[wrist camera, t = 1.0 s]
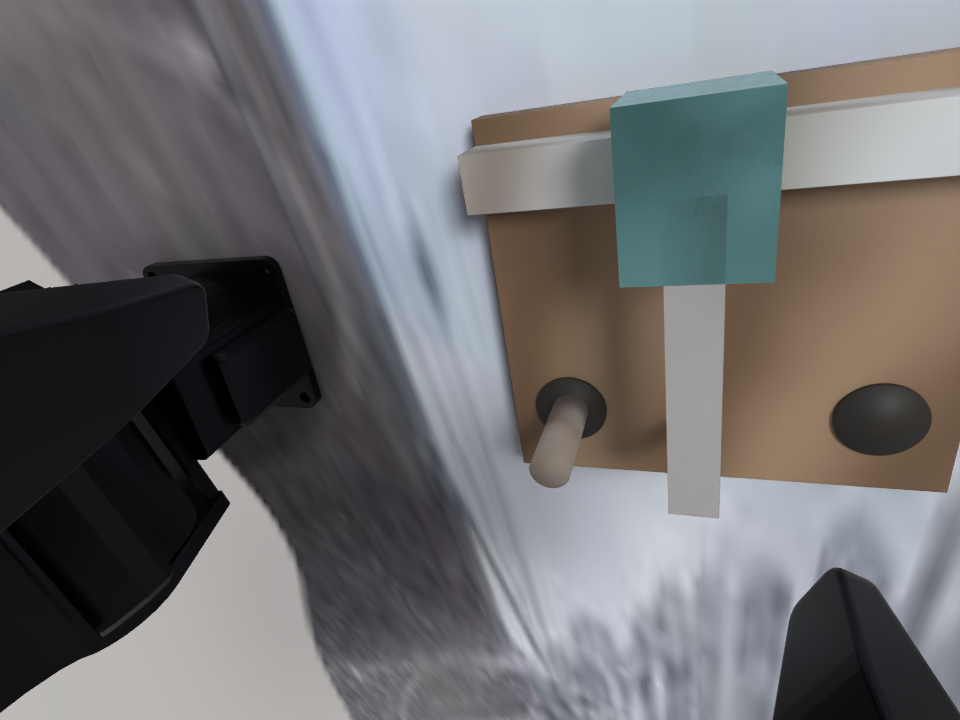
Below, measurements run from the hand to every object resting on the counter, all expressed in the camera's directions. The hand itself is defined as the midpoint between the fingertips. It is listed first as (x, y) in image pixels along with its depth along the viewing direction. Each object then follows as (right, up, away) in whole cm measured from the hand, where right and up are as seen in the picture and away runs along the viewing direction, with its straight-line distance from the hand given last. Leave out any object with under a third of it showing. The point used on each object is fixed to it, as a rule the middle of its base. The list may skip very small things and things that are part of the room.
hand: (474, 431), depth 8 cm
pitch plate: (+7, +3, +10) cm, 13 cm away
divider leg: (+6, +3, +8) cm, 11 cm away
